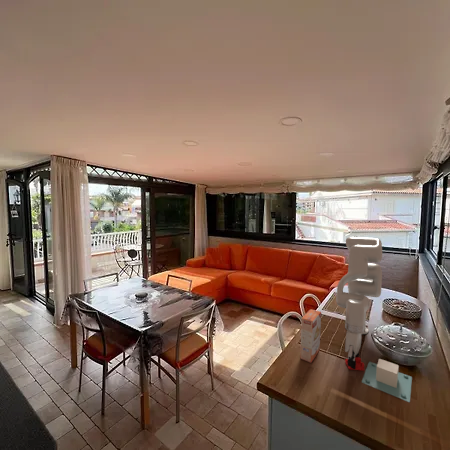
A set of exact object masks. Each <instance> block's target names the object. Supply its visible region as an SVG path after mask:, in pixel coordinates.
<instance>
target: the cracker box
mask: <svg viewBox="0 0 450 450" xmlns="http://www.w3.org/2000/svg"><path fill="white" fill-rule="evenodd" d="M321 320H322V311H319V310H315V309H309V310H308V311H307V312H306V313H305V314H304V315H303V316H302V317H301V329H300V330H301V331H300V332H301V333H300V351H299V352H300V355H299V356H300V359H301V360H302V361H304V362H305V361H306V362H308V363H312V362H313V361H314V359H315V357H316V356H317V354H318V353H319V351H320V350H321V349H320V348H321V346H320V343H321V327H322V325H321V324H322V321H321Z"/></svg>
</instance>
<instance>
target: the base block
mask: <svg viewBox="0 0 450 450" xmlns="http://www.w3.org/2000/svg"><path fill="white" fill-rule="evenodd" d="M377 361H378V362H377V363H376V364H377V371H376V380H377V381H380V382H382V383H385V384H387V385H390V386H392V387H395V388H397V382H398V372H399V367H400V366H399V365H398V364H396V363H393V362H390V361H387V360H384V359H381V358H378V360H377Z"/></svg>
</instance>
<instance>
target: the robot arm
mask: <svg viewBox="0 0 450 450" xmlns="http://www.w3.org/2000/svg"><path fill="white" fill-rule="evenodd" d="M345 245H346V248H347V250H348V265H347V266H348V268H347V270H348V271H347V273H346V274H345V275H343V276H342V278H341V279H339V281H338V284H337V285H336V286H337V288H336V299H335V301H336V304H337V306H338V307H340V308H343V309H345V321H344V322H345V325H344V327H345V330H346V334H345V343H344V344H345V345H344V351H345V353H348V354H347V359H348V366H350V367H351V368H353V369H356V360H355V357H360V349H361V346H362V345H361V344H362V335H367V334H368V333H369V329H368V328H367V325H366V324H367V323H366V322H367V311H368V310H369V309H370V307H371V302H370V299H369V297H371V298H380V296H381V294H382V286H383V285H382V282H383V271H382V267H381V265H380V264H378V263H380V262H381V261H382V259H383V245H382V241H381V239H380V238H377V237H364V236H363V237H362V236H348V237H347V238H346V239H345ZM345 285H347V291H348V292H345V291H344V287H345Z"/></svg>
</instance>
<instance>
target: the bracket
mask: <svg viewBox="0 0 450 450" xmlns="http://www.w3.org/2000/svg"><path fill="white" fill-rule="evenodd" d="M355 360H356V369H353V368H351V367H350V366H348V358H345V359H344V363H345V364H346V367H347V368H348V370H353V371H363V372H365V363H364V362H362V359H361V357H360V356H359V357H355Z"/></svg>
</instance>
